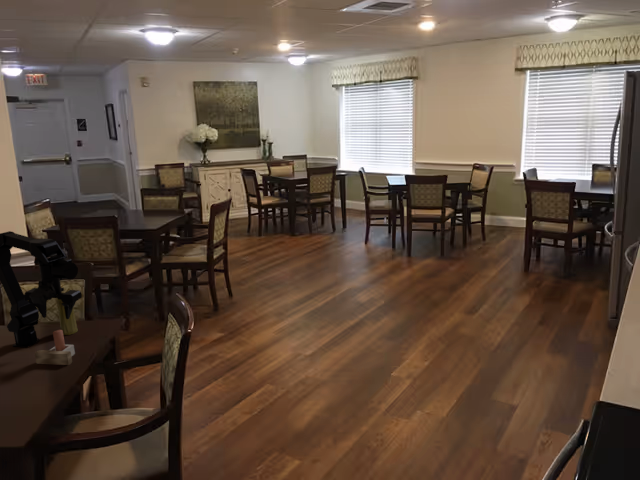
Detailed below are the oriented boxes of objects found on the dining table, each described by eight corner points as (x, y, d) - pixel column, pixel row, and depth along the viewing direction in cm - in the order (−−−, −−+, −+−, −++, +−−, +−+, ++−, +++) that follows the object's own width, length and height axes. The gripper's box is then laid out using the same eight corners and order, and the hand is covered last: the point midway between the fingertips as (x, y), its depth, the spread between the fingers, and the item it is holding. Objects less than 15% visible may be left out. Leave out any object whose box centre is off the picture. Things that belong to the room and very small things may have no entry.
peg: (54, 357, 177) (50, 333, 175) (60, 353, 180) (56, 329, 178) (62, 357, 176) (58, 333, 174) (68, 354, 179) (64, 329, 177)
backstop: (36, 363, 174) (34, 352, 173) (40, 360, 176) (38, 350, 175) (68, 365, 172) (66, 354, 171) (72, 362, 174) (70, 351, 173)
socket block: (48, 361, 176) (46, 351, 175) (59, 353, 181) (57, 344, 180) (64, 361, 175) (62, 352, 174) (75, 353, 180) (73, 344, 180)
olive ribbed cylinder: (81, 328, 202) (75, 294, 199) (72, 335, 196) (66, 300, 193) (66, 328, 203) (61, 294, 199) (57, 335, 197) (51, 300, 193)
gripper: (8, 282, 171) (16, 325, 175) (58, 285, 168) (65, 329, 172) (32, 272, 182) (38, 313, 186) (80, 274, 179) (85, 316, 182)
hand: (56, 318), depth 181 cm, fingers open, 9 cm apart
